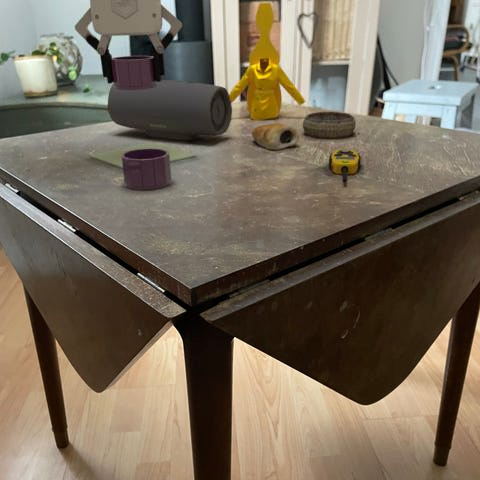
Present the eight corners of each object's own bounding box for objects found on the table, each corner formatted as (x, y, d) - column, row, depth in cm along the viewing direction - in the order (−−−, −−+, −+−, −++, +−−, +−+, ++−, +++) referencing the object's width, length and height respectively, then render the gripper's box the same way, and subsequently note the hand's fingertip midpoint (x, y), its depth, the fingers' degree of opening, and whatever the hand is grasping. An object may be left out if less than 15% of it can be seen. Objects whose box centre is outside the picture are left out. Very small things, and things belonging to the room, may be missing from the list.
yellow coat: (223, 121, 117) (219, 3, 105) (225, 114, 123) (221, 3, 112) (305, 120, 116) (310, 1, 105) (302, 113, 123) (307, 1, 112)
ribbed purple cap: (141, 193, 74) (138, 162, 72) (116, 183, 78) (112, 153, 76) (180, 183, 78) (178, 153, 76) (154, 174, 82) (151, 146, 80)
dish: (128, 91, 82) (125, 60, 80) (106, 87, 86) (102, 58, 84) (164, 86, 85) (162, 57, 83) (141, 83, 90) (138, 55, 88)
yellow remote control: (360, 147, 87) (363, 173, 74) (359, 159, 88) (361, 187, 75) (330, 147, 87) (327, 172, 75) (329, 159, 88) (326, 186, 76)
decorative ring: (335, 141, 98) (365, 132, 105) (336, 123, 97) (366, 115, 103) (291, 134, 105) (322, 126, 111) (292, 116, 103) (323, 109, 109)
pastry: (242, 141, 100) (242, 120, 98) (272, 137, 103) (272, 116, 101) (272, 151, 93) (273, 128, 91) (303, 146, 96) (304, 124, 94)
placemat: (130, 171, 84) (129, 169, 83) (89, 156, 92) (88, 154, 92) (196, 156, 91) (196, 154, 91) (152, 143, 99) (152, 142, 99)
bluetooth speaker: (234, 137, 103) (233, 80, 98) (209, 147, 96) (207, 87, 91) (138, 127, 113) (132, 74, 107) (109, 136, 105) (102, 80, 100)
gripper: (51, -57, 73) (74, 86, 82) (180, -59, 73) (189, 83, 83) (63, -53, 79) (83, 80, 88) (182, -55, 80) (190, 77, 89)
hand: (135, 80), depth 85 cm, fingers closed on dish, 6 cm apart
